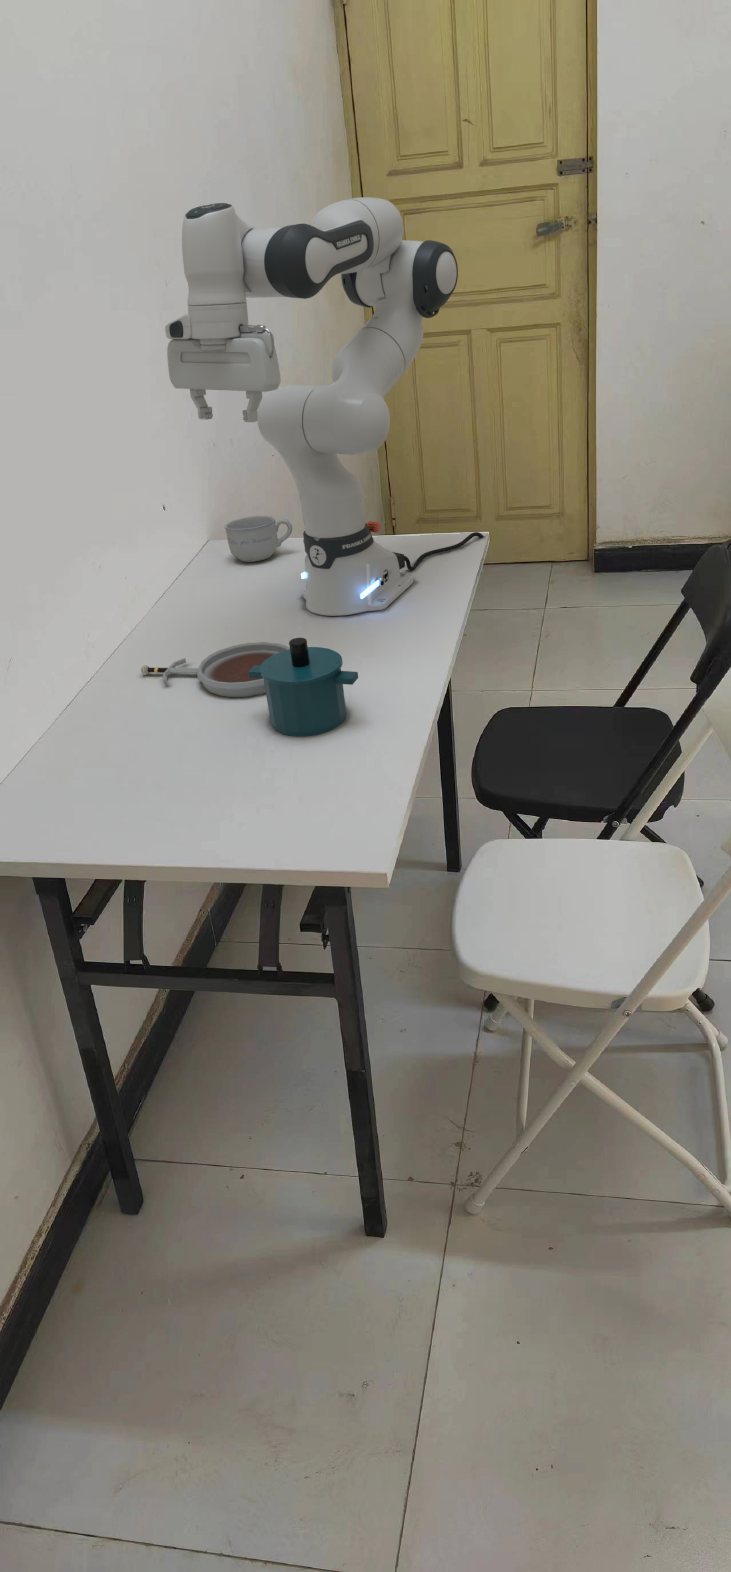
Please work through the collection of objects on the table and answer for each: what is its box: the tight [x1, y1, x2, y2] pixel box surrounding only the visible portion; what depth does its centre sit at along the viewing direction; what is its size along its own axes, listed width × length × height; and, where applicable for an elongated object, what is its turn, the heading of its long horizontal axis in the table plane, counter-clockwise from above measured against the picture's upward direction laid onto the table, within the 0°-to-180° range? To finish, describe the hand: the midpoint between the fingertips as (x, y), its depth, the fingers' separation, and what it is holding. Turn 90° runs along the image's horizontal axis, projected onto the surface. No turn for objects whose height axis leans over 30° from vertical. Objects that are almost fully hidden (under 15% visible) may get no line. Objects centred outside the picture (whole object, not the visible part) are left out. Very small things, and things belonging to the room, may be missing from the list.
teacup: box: [224, 515, 293, 563], centre depth 235 cm, size 14×11×8 cm
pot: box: [248, 665, 359, 737], centre depth 166 cm, size 11×17×8 cm
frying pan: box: [140, 641, 290, 698], centre depth 185 cm, size 17×3×28 cm
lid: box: [260, 637, 344, 685], centre depth 163 cm, size 12×12×5 cm
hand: (228, 420), depth 174 cm, fingers open, 8 cm apart
